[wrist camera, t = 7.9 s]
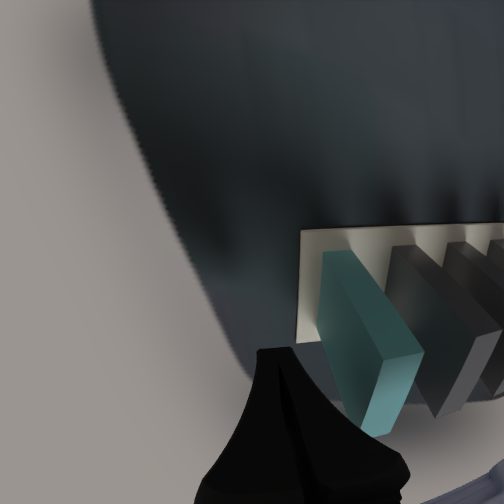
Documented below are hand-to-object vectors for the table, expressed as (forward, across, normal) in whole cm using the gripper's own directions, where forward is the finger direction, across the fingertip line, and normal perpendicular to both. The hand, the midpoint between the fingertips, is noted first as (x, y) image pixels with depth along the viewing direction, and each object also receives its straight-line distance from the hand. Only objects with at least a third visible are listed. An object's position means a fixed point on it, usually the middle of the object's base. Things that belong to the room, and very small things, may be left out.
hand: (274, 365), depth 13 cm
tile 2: (+5, -8, 0) cm, 10 cm away
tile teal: (+5, -4, 0) cm, 7 cm away
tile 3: (+5, -12, 0) cm, 13 cm away
